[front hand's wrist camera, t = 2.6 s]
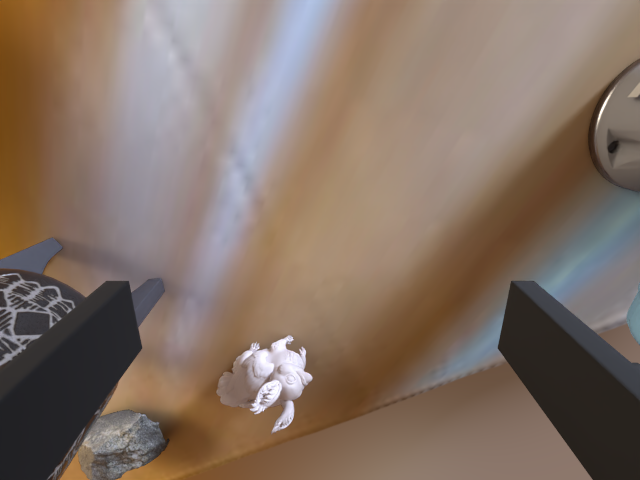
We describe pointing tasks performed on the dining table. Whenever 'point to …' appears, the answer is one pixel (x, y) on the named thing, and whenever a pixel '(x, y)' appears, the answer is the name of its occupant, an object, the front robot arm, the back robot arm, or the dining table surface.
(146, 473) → the dining table surface
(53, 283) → the planter
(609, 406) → the front robot arm
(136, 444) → the rock
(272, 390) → the figurine
